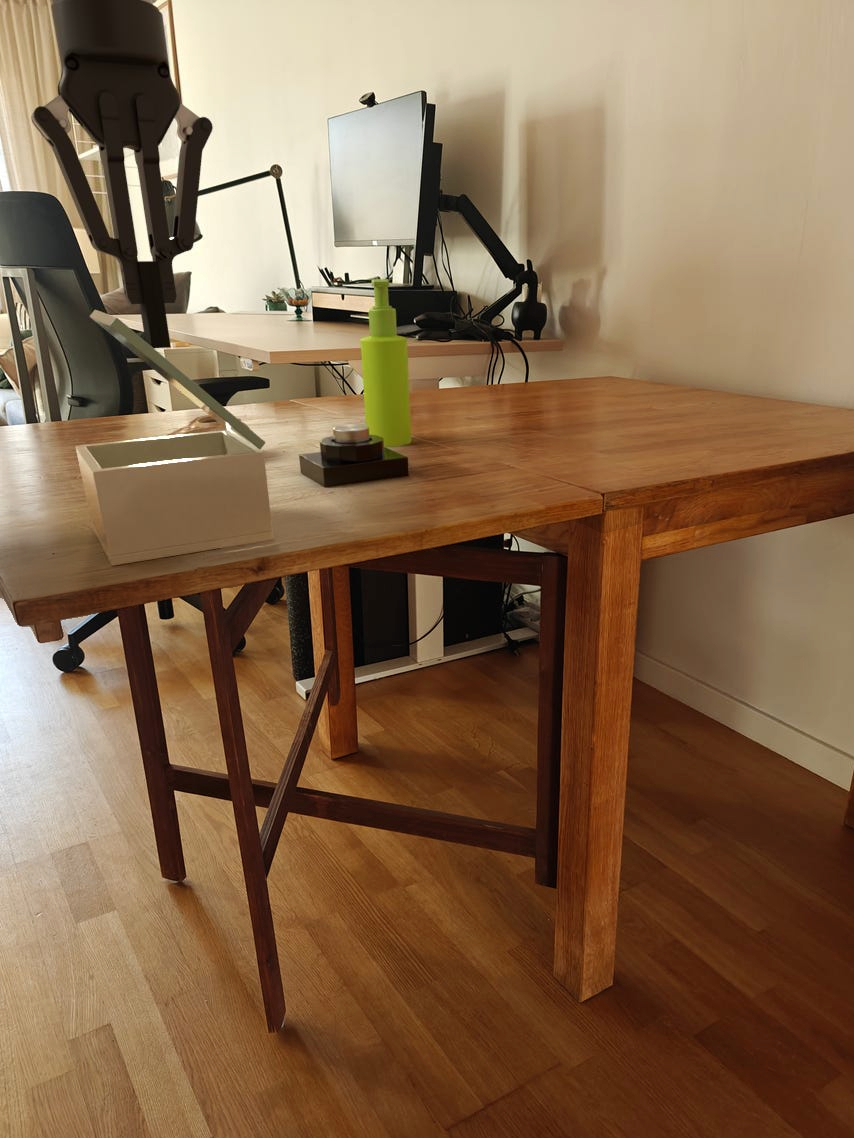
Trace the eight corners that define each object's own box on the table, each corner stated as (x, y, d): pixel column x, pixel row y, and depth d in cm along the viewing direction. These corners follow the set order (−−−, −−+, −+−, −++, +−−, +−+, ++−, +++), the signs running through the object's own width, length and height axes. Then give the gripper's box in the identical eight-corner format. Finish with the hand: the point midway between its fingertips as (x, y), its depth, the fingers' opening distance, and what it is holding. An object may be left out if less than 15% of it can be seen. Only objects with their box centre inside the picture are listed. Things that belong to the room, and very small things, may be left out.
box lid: (109, 325, 64) (116, 316, 64) (89, 316, 73) (95, 309, 73) (260, 450, 73) (266, 442, 73) (225, 428, 82) (230, 421, 82)
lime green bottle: (408, 435, 119) (401, 278, 110) (413, 445, 112) (406, 279, 104) (365, 437, 118) (355, 278, 109) (368, 448, 111) (357, 280, 103)
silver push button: (341, 448, 94) (340, 432, 93) (328, 442, 97) (327, 426, 97) (375, 444, 96) (374, 428, 95) (361, 438, 99) (360, 422, 98)
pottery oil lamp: (138, 466, 101) (135, 407, 102) (225, 481, 111) (221, 427, 111) (181, 447, 96) (177, 385, 97) (268, 465, 106) (264, 408, 106)
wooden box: (111, 566, 70) (92, 471, 67) (92, 530, 80) (75, 445, 76) (273, 539, 76) (263, 451, 73) (238, 509, 86) (228, 429, 82)
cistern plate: (324, 488, 93) (321, 451, 91) (300, 473, 99) (297, 438, 97) (408, 476, 97) (407, 440, 96) (380, 462, 104) (378, 429, 102)
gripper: (187, 23, 68) (224, 339, 78) (2, 2, 62) (68, 346, 72) (210, 1, 62) (248, 346, 72) (8, -25, 56) (79, 355, 66)
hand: (158, 346), depth 72 cm, fingers closed
